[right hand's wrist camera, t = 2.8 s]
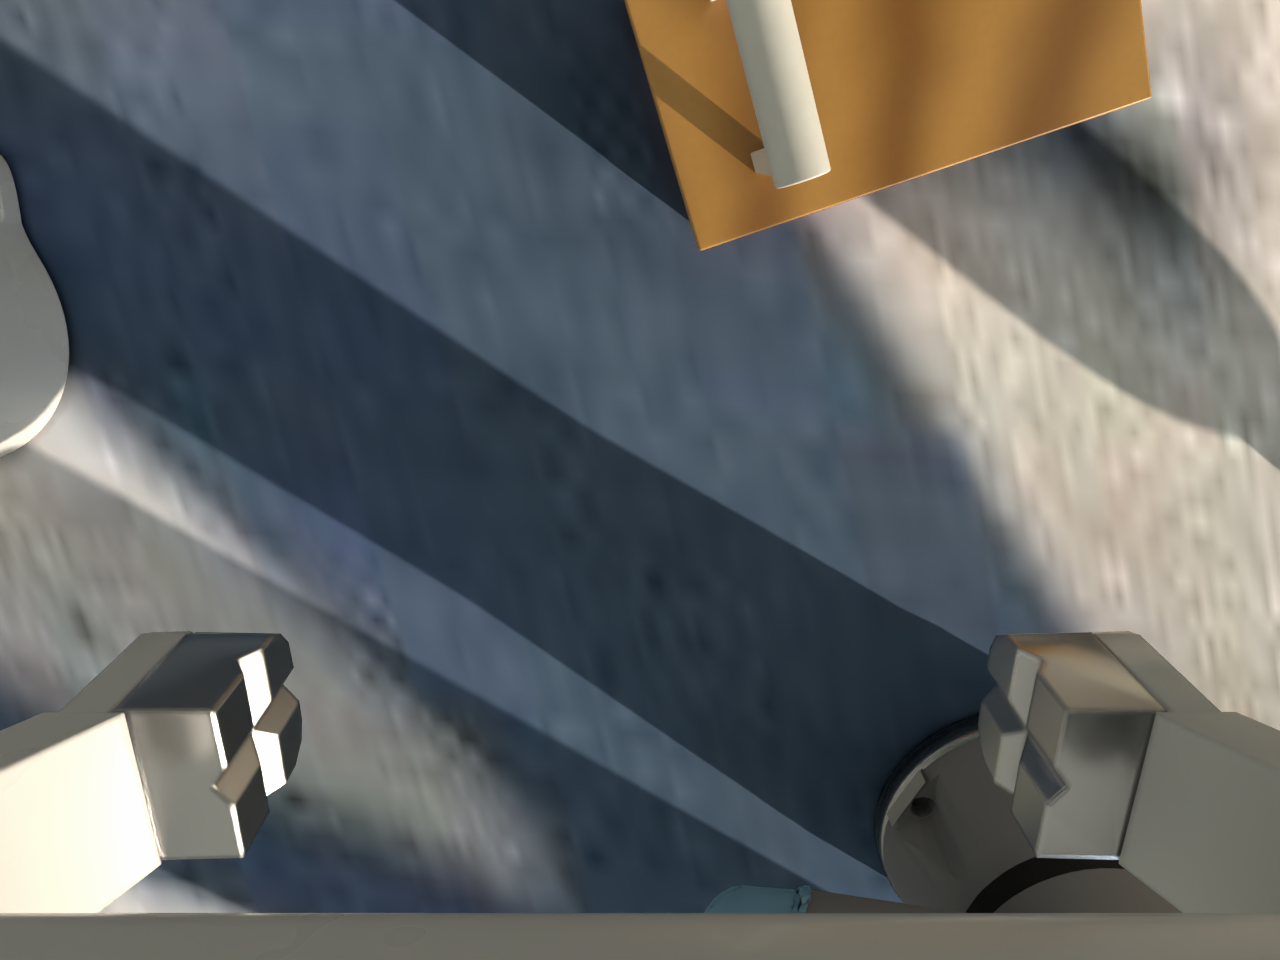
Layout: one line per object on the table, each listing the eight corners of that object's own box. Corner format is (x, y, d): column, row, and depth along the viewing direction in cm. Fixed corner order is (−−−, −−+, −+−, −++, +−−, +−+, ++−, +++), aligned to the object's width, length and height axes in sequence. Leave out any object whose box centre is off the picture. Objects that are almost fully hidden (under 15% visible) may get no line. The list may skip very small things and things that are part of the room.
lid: (697, 248, 31) (719, 279, 23) (608, -51, 28) (599, -131, 20) (1137, 99, 29) (1319, 79, 22) (1098, -236, 26) (1295, -402, 18)
